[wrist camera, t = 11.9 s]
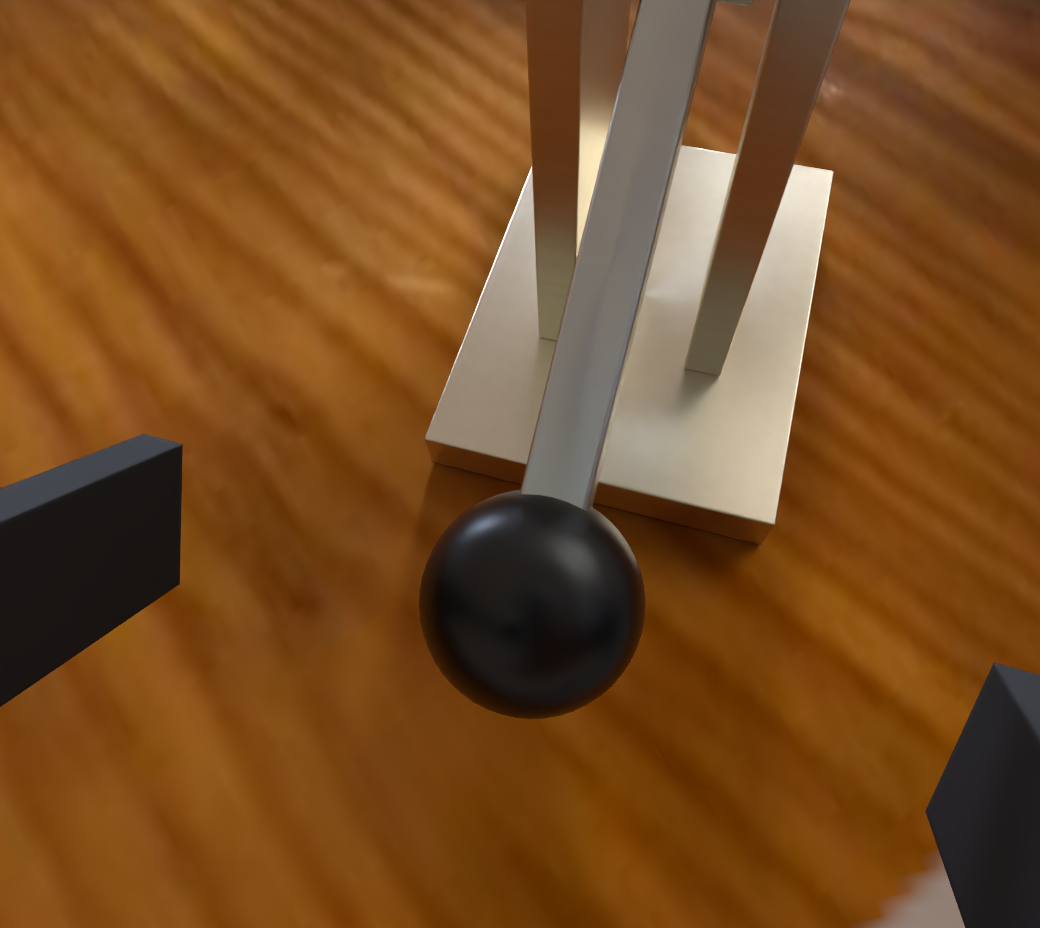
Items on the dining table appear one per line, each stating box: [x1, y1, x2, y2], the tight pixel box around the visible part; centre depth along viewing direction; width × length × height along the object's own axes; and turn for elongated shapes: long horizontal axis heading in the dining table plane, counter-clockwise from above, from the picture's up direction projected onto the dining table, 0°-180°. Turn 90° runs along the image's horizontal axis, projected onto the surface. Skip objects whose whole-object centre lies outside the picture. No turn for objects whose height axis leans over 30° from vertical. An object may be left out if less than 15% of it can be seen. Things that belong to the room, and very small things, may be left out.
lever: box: [419, 0, 753, 719], centre depth 12 cm, size 15×4×4 cm, turn 162°
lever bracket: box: [425, 0, 850, 545], centre depth 17 cm, size 12×9×14 cm
